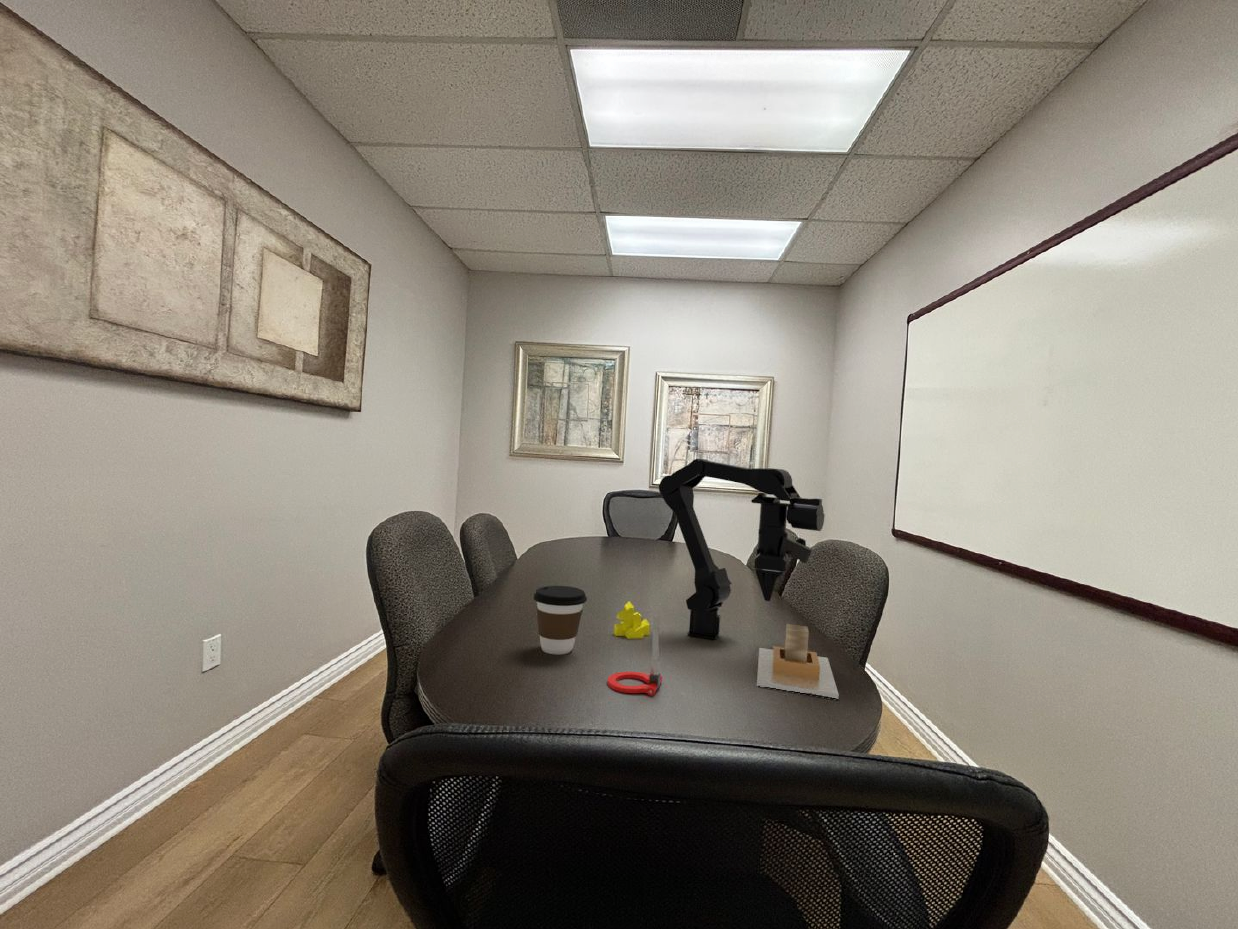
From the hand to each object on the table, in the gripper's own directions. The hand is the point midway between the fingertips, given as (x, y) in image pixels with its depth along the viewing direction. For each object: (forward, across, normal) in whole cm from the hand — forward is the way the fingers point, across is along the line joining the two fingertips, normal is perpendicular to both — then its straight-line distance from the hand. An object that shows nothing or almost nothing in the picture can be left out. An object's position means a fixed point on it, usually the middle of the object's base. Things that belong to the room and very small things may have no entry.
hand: (767, 596), depth 123 cm
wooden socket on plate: (+12, -12, -6) cm, 18 cm away
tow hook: (+12, -31, +22) cm, 40 cm away
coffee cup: (+12, -20, +41) cm, 47 cm away
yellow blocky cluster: (+12, -3, +29) cm, 32 cm away
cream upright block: (+11, -12, -6) cm, 17 cm away
